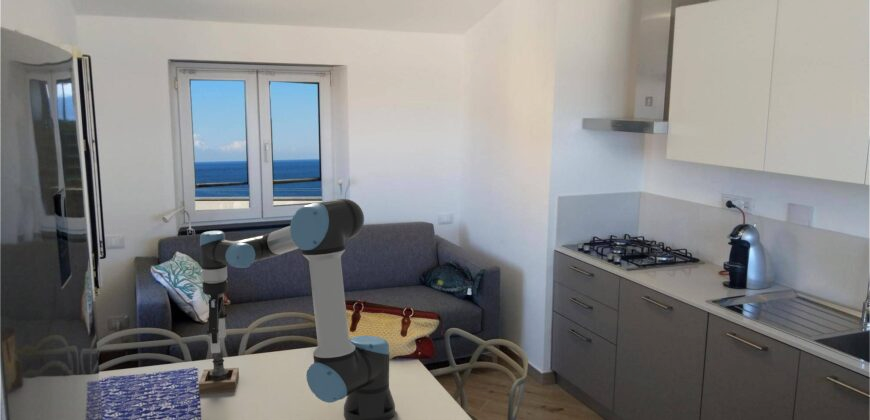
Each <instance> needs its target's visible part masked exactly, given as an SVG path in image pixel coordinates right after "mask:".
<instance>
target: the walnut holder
mask: <svg viewBox="0 0 870 420" xmlns="http://www.w3.org/2000/svg"><path fill="white" fill-rule="evenodd" d="M213 369H214V368H212V369H211V368H210V369H203V370H202V371H203V372H202V374H201V377H200V380H199V382H198V395H200V394H217V393H227V392H228V393H231V392H232V393H233V392H236V390H237V386H238V382H239V378H240V371H239V369H240V368H239V367H227V368H226V367H224V369H227V370H228V371H229V372H228V375H227V377H226V378H225V379H227V380H220V381H214V380H213V379H212V378H211V375H210V374H209V373H210V372H211V371H212V370H213Z"/></svg>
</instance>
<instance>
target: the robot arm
mask: <svg viewBox="0 0 870 420" xmlns="http://www.w3.org/2000/svg"><path fill="white" fill-rule="evenodd" d="M364 223H365V216H364V211H363V209H362V208H361V207H360V205H359V204H358V203H357V202H356V201H353V200H351V199H350V198H337V199H332V200H327V201H325V200H324V201H319V202H313V203H310V204H307V205H303V206H301V207H299V208H298V209H297V210H296V211H295V213H294V214H293V216H292V218H291V222H290V225H288V226H285V227H282V228H281V229H280V228H279V229H277V230H274V231H272V232H269V233H266V234H263V235H258V236H254V237H249V238H245V239H239V240H227V239H226V234H225V232H224V231H222V230H209V231H205V232H204V231H203V232H202V233H201V234H200V235H199V252H200V254H199V255H200V264H201V270H200V271H199V273H200V274H202V275H201V278H202V293H203V294H204V295H207V296H210V297H209V299H208V302H207V303H208V330H207V331H206V333H207V334H209V339H210V340H209V343H210V353H211V354H213V353H220V350H221V339H225V338H226V337H227V336H226V335H227V334H226V319H225V318H227V317H228V314H227V313H226V309H225V302H224V295H223V294H225V293H227V292H228V290H229V287H228V286H229V285H228V280H227V279H228V266H230V267H232V268H233V267H234V268H238V269H239V268H241V269H246V268H249V267H250V266H251V265H252V264H253V263H254V262H258V261H262V260H267V259H271V258H275V257H279V256H282V255H283V254H285V253H289V252H291V251H292V252H293V251H294V250H295V251H296V250H298V249H300V250H301V254H302V257H304V258H306V259H307V261H308V266H309V268H308V269H309V275H310V284H311V293H312V294H311V295H312V304H313V312H314V321H315V331H316V339H317V341H316V342H317V346H316V348H315V349H314V350H313V352H312V356H313V363H312V364H310V366H309V367H308V369H307V371H306V376H305V377H306V382H307V385H308V387H309V390H310V391H311V392H312V394H314V396H315V397H316V398H318V400H319V401H322V402H325V403H332V404H333V403H334V402H337V401H340V400H344V399H345V398H346V399H345V402H344V405H343V417H344V418H345V419H346V420H391V419H393V418H394V416H395V413H396V404H395V401H394V397H393V395H392V392H391V388H390V355H391V352H390V345H389V343H388V341H387V340H386V339H384V338H382V337H379V336H375V335H374V336H373V335H356V336H353V337H351V338H350V335H349V327H348V326H349V325H348V318H347V317H348V315H347V307H346V296H345V287H344V286H345V285H344V278H343V277H344V276H343V269H342V268H343V267H342V255H343V254H344V253H345V252H346V243H345V241H347V240H350V239H353V238H354V237H356V236H357V235H358V234H359V233H360V232H361V231H362V229H363V227H364Z"/></svg>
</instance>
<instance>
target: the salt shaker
mask: <svg viewBox="0 0 870 420" xmlns="http://www.w3.org/2000/svg"><path fill="white" fill-rule="evenodd" d="M223 356H224V355H223V350H221V349H220V353H212V357H213V359H212V361H211V362H212V363H213V368H212V369H213V370H212V371H211V372H210V373H209V374H210V375H211V378H212V379H213V380H214V381H220V380H227V379H225V378H226V377H227V375H228V372H229V371H228V370H227V369H224V368H225V365H224V361H225V359H224V358H223Z"/></svg>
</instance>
